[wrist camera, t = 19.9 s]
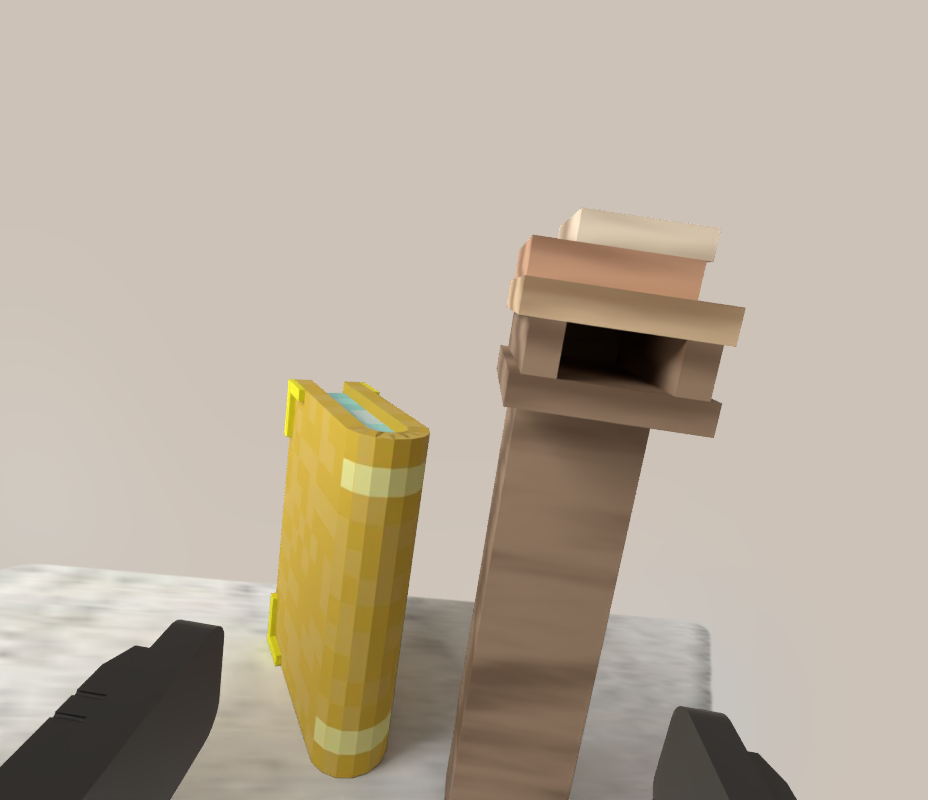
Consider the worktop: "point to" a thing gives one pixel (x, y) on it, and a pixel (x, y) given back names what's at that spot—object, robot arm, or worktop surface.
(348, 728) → the book
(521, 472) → the tall brown wooden column
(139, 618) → the worktop surface
